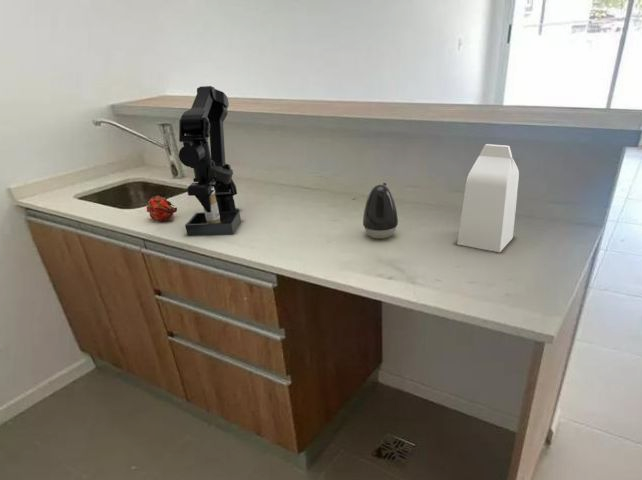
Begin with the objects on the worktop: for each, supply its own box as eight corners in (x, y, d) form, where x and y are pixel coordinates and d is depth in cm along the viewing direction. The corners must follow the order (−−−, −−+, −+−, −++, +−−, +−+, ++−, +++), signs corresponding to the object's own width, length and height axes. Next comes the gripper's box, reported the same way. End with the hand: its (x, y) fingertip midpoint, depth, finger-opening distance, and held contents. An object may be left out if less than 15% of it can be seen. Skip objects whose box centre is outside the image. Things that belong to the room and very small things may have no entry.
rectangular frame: (198, 222, 156) (195, 212, 154) (240, 221, 155) (239, 211, 154) (187, 235, 146) (185, 225, 144) (233, 234, 146) (231, 223, 144)
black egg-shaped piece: (401, 230, 141) (402, 180, 134) (393, 243, 133) (393, 191, 125) (368, 228, 145) (368, 178, 137) (359, 240, 136) (357, 189, 128)
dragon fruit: (156, 219, 166) (176, 230, 160) (135, 211, 159) (155, 223, 153) (165, 197, 165) (185, 207, 159) (145, 188, 158) (166, 199, 152)
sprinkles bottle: (215, 224, 153) (207, 184, 146) (225, 226, 151) (217, 186, 144) (204, 229, 150) (195, 188, 143) (214, 231, 148) (205, 190, 141)
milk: (457, 244, 131) (465, 148, 117) (472, 230, 139) (481, 139, 125) (499, 252, 125) (514, 152, 111) (512, 237, 133) (527, 142, 119)
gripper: (220, 165, 131) (229, 218, 139) (234, 151, 147) (242, 199, 155) (181, 166, 132) (192, 220, 140) (200, 152, 148) (209, 201, 156)
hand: (211, 209), depth 147 cm, fingers closed on sprinkles bottle, 4 cm apart
